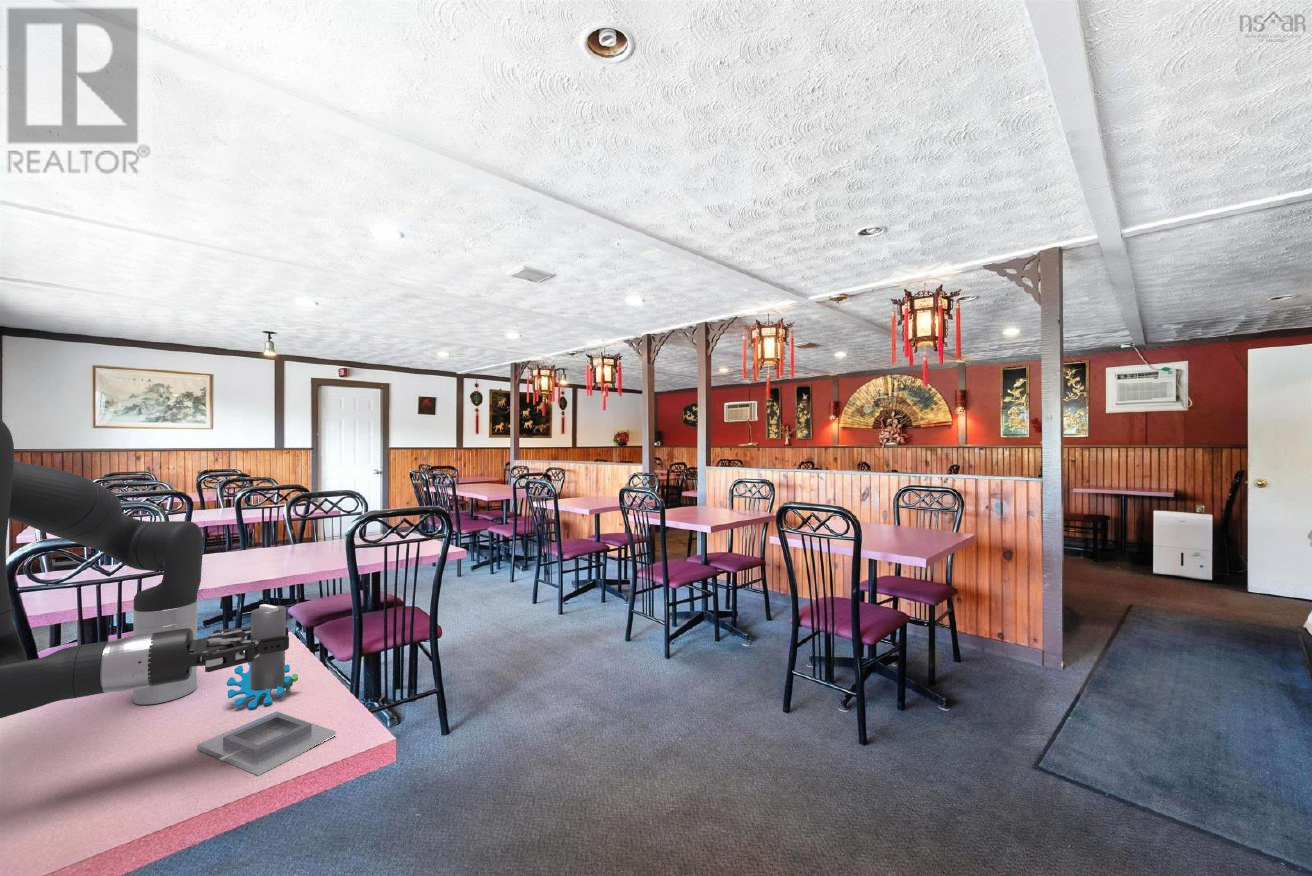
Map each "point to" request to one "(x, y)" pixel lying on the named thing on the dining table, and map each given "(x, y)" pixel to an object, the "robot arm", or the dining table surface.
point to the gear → (251, 693)
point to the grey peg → (268, 666)
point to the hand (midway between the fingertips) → (287, 637)
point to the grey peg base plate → (265, 742)
